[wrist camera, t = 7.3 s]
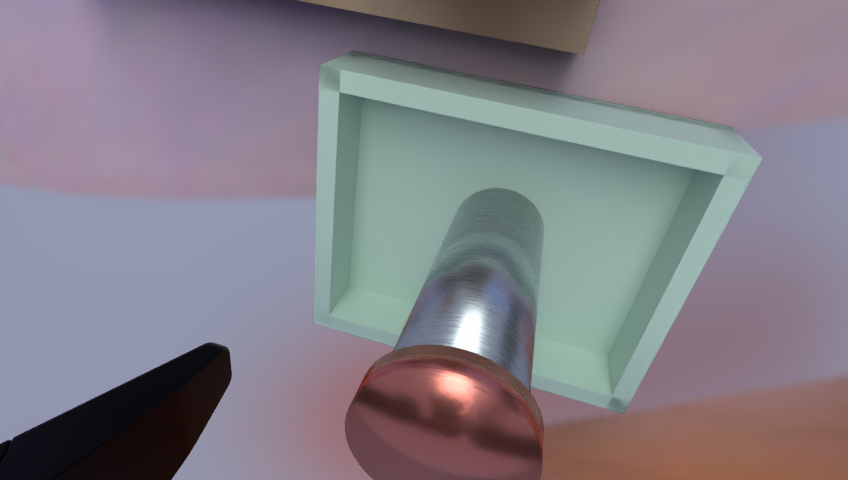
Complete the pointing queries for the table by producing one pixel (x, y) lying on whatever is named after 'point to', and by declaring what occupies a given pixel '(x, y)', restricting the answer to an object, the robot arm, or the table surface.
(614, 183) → the tray
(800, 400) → the table surface
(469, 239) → the pin
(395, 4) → the block
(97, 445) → the robot arm
